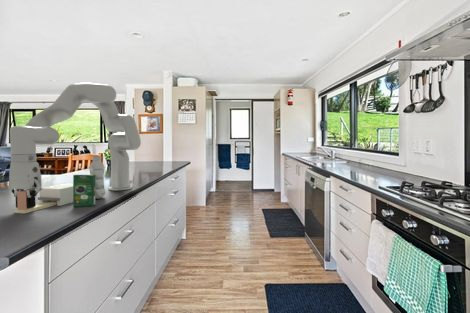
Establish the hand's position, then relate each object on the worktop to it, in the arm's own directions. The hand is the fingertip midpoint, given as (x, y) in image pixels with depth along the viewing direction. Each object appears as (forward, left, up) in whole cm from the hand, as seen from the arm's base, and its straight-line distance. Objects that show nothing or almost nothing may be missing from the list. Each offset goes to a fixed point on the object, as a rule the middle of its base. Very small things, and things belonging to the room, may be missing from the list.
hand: (25, 206), depth 104 cm
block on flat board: (-7, 0, -2) cm, 7 cm away
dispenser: (-18, 0, -2) cm, 18 cm away
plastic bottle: (-26, +10, -2) cm, 29 cm away
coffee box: (-13, +15, -2) cm, 20 cm away
